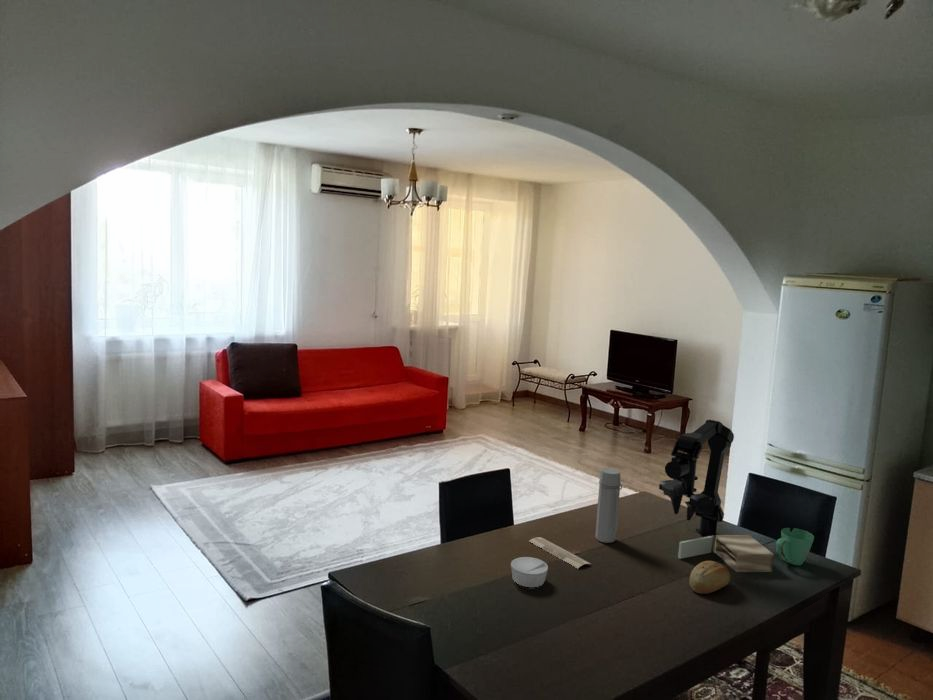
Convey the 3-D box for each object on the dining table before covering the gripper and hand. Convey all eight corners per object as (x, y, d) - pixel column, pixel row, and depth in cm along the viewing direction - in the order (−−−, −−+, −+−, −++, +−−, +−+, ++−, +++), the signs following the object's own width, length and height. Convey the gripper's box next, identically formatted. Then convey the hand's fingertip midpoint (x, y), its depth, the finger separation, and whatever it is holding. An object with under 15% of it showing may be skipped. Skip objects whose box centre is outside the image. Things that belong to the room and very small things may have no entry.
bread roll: (737, 587, 202) (740, 563, 201) (710, 601, 192) (713, 575, 191) (708, 575, 209) (711, 551, 208) (681, 588, 200) (684, 563, 199)
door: (711, 550, 227) (712, 535, 226) (713, 551, 226) (715, 536, 225) (677, 557, 220) (679, 541, 219) (680, 558, 219) (681, 542, 218)
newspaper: (591, 567, 212) (591, 561, 212) (575, 572, 208) (575, 566, 208) (541, 540, 231) (541, 535, 231) (526, 544, 227) (526, 539, 227)
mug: (789, 553, 228) (792, 525, 227) (816, 565, 220) (820, 536, 219) (762, 561, 221) (765, 532, 220) (789, 573, 213) (793, 544, 211)
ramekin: (545, 593, 193) (546, 575, 192) (507, 587, 195) (508, 570, 194) (548, 575, 204) (549, 559, 203) (512, 570, 206) (513, 554, 205)
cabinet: (714, 551, 227) (715, 535, 226) (747, 551, 228) (748, 535, 227) (736, 572, 212) (738, 554, 211) (771, 571, 213) (773, 554, 213)
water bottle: (590, 537, 234) (595, 468, 231) (608, 534, 237) (613, 466, 234) (605, 547, 226) (611, 476, 223) (624, 544, 229) (630, 474, 226)
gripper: (648, 466, 227) (645, 510, 229) (689, 484, 211) (684, 530, 213) (673, 463, 232) (669, 506, 234) (714, 480, 216) (710, 526, 218)
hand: (682, 517), depth 225 cm, fingers open, 5 cm apart
